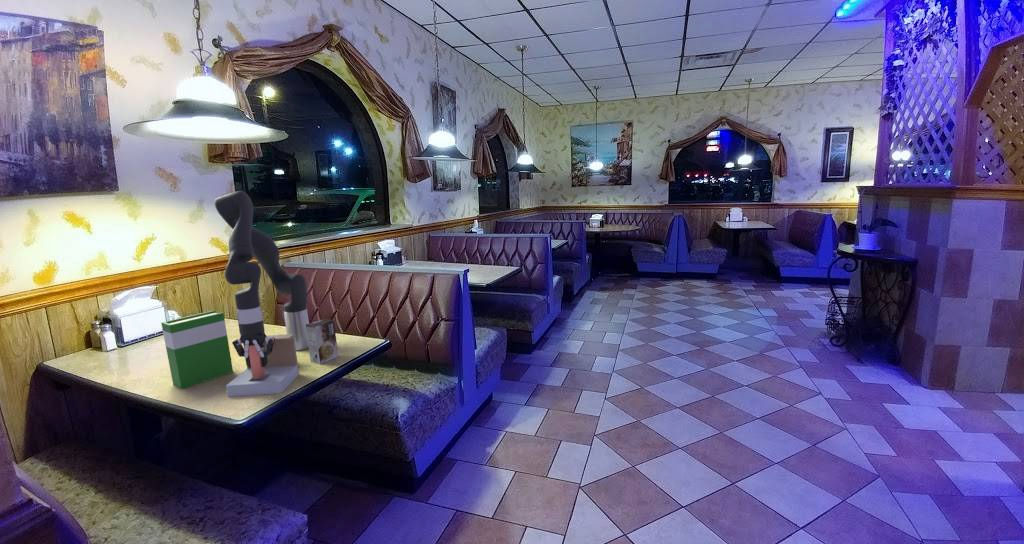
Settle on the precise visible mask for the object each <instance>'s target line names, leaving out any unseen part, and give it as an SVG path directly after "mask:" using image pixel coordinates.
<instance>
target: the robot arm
mask: <svg viewBox="0 0 1024 544" xmlns="http://www.w3.org/2000/svg"><path fill="white" fill-rule="evenodd" d="M213 201H214V202H213V203H214V206H215V209H216V211H217V213H218V214H219V216H220V217H221V218H222V219H223V221H224V222H225V223H226V224H228V226H229V227H230V228H231V229H232V231H231V233H230V235H229V239H228V252H229V253H228V254H229V255H228V256H229V257H228V262H227V264H226V266H225V271H224V277H225V281H226V282H228V283H229V284H230V285H234V286H236V285H243V284H250V286H249V287H247V288H245V289H241V290H238V291H237V292H236V293H235V294H234V298H235V299H234V300H235V305H236V318H237V322H238V323H237V326H238V329H239V335H240V337H239V338H236V339H235V340H233V341H232V342H231V344H232V346H233V348H234V349H235V351H236V353H237V355H238V357H243V358H244V360H245V364H246V367H247V366H248V368H251V365H250V358H249V350H248V349H249V347H248V346H250V345H255V347H256V349H257V351H258V352H259V353H260V356H261V357H260V359H261V366H262V367H265V366H266V364H267V363H268V361H267V355H269V354H270V353H271V352H272V350H273V345H274V341H275V338H274V337H272V338H269V337H267V336H268V335H267V334H266V333H265V325H264V324H265V323H264V316H263V315H264V314H263V312H262V307H261V302H260V295H259V292H260V291H259V289H260V281H261V275H262V269H263V270H264V272H265V273H266V275H267V276H268V277H269V278H268V279H270V282H271V283H272V285H273V286H274V288H275V289H276V291H277V292H278V293H279V294H280V295H285V296H290V301H289V302H286V303H285V304H283V316H284V322H285V323H284V325H285V328H286V329H285V331H286V334H294V340H295V348H296V352H297V351H303V350H306V349H309V345H308V338H307V331H306V324H309V323H310V322H309V316H308V315H309V314H308V307H307V305H308V290H307V288H308V287H307V281H306V278H305V276H304V275H303V274H301V273H287V272H286V271H285V270H284V269H283V268H282V266H281V264H280V250H279V247H278V245H277V244H276V243H275V241H274V240H273V239H272V238H271V237H272V236H270V235H268V234H267V233H265V232H263V231H261V230H259V229H257V228H254V227H253V221H254V219H253V218H254V204H253V202H252V200H251V197H250V196H249V195H248V194H247V192H245V191H244V190H237V191H233V192H230V193H228V194H227V193H226V194H225V195H221V196H219V197H216V198H215V199H214V200H213ZM253 258H255V260H256V261H257V262H258V263H257V262H255V261H252V260H253ZM261 267H262V269H261ZM265 340H266V343H267V349H265V345H264V342H265ZM243 344H244V345H245V350H244V345H243Z"/></svg>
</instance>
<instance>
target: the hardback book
mask: <svg viewBox="0 0 1024 544" xmlns="http://www.w3.org/2000/svg"><path fill="white" fill-rule="evenodd" d="M160 323H161V329H162V335H163V340H164V344H165V345H164V346H165V350H166V355H167V359H168V366H169V369H170V374H171V375H170V376H171V378H172V379H171V380H172V381H171V382H172V385H173V386H175V387H176V388H178V389H180V390H183V389H186V388H190V387H191V386H195V385H199V384H201V383H204V382H207V381H211V380H213V379H216V378H219V377H222V376H225V375H228V374H231V373H233V372H234V369H233V362H232V356H231V351H230V350H231V349H230V344H229V339H228V333H227V332H228V331H227V327H226V321H225V314H224V312H219V313H217V310H209V311H205V312H201V313H196V314H192V315H188V316H184V317H179V318H174V319H171V320H166V321H162V322H160Z"/></svg>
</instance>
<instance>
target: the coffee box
mask: <svg viewBox="0 0 1024 544" xmlns="http://www.w3.org/2000/svg"><path fill="white" fill-rule="evenodd" d="M335 327H336V326H335V320H334V319H329V318H321V319H318V320H315V321H312V322H309V324H306V331H307V338H308V345H309V348H308V351H309V359H310V362H311V363H313V364H317V365H323V364H324V363H327V362H329V361H331V360H334V359H336V358H338V357H339V351H338V343H337V336H336V328H335Z"/></svg>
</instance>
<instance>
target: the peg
mask: <svg viewBox="0 0 1024 544" xmlns="http://www.w3.org/2000/svg"><path fill="white" fill-rule="evenodd" d="M248 347H249V349H248V350H249V358H250V365H251V371H252V378H253V379H259V378H262V377H264V376H265V370H264V367H262V366H261V359H260V357H261V356H260V353H259V352H258V351H257V349H256V347H255V345H250V346H248Z"/></svg>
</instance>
